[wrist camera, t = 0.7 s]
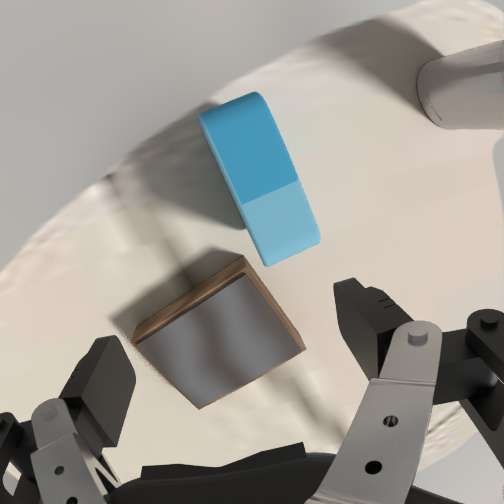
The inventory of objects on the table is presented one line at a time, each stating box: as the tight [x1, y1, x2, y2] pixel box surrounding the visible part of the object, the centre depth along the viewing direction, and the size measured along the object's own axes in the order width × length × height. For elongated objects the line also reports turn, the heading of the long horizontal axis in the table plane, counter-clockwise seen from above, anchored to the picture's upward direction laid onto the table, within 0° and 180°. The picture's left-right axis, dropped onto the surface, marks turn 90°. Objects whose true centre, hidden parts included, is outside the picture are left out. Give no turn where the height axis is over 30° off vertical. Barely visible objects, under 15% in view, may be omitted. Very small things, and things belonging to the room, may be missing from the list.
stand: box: [131, 255, 306, 409], centre depth 35 cm, size 15×12×4 cm
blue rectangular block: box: [197, 92, 320, 267], centre depth 27 cm, size 12×4×12 cm, turn 24°
